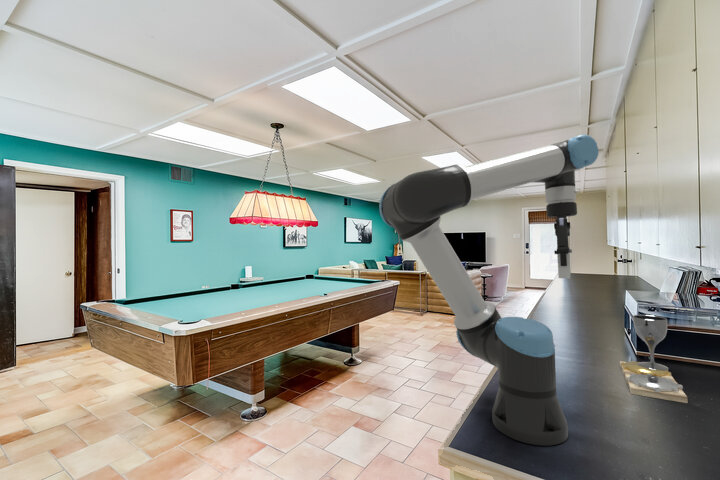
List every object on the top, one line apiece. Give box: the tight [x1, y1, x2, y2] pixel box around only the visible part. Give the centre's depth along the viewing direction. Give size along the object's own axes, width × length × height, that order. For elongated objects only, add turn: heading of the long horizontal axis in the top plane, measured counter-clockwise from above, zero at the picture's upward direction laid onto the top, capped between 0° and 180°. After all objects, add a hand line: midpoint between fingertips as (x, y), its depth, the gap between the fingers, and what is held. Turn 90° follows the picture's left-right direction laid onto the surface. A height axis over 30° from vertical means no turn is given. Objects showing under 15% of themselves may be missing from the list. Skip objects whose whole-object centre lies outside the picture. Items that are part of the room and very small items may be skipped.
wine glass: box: [632, 314, 669, 371], centre depth 100 cm, size 8×8×15 cm
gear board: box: [619, 360, 689, 404], centre depth 94 cm, size 24×12×4 cm, turn 147°
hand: (565, 276), depth 93 cm, fingers open, 13 cm apart
